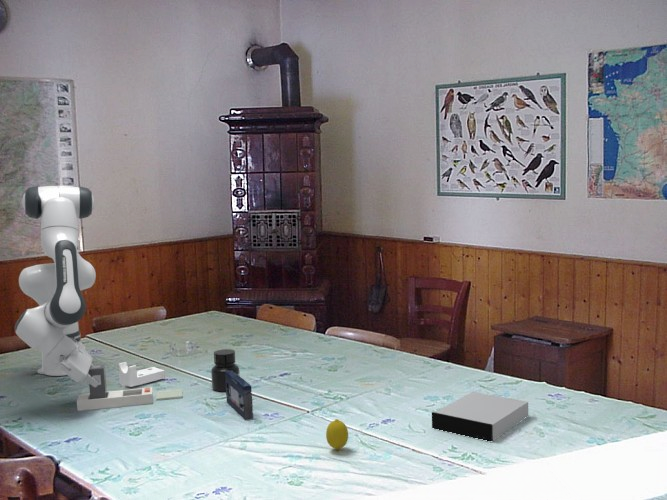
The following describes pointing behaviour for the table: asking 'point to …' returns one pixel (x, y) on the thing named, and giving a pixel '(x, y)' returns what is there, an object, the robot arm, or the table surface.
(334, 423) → the lemon
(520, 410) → the disc drive
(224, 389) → the ink bottle
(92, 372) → the grey square pillar
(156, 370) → the bracket
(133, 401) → the power strip
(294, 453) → the table surface
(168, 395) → the felt pad
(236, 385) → the vhs cassette tape
